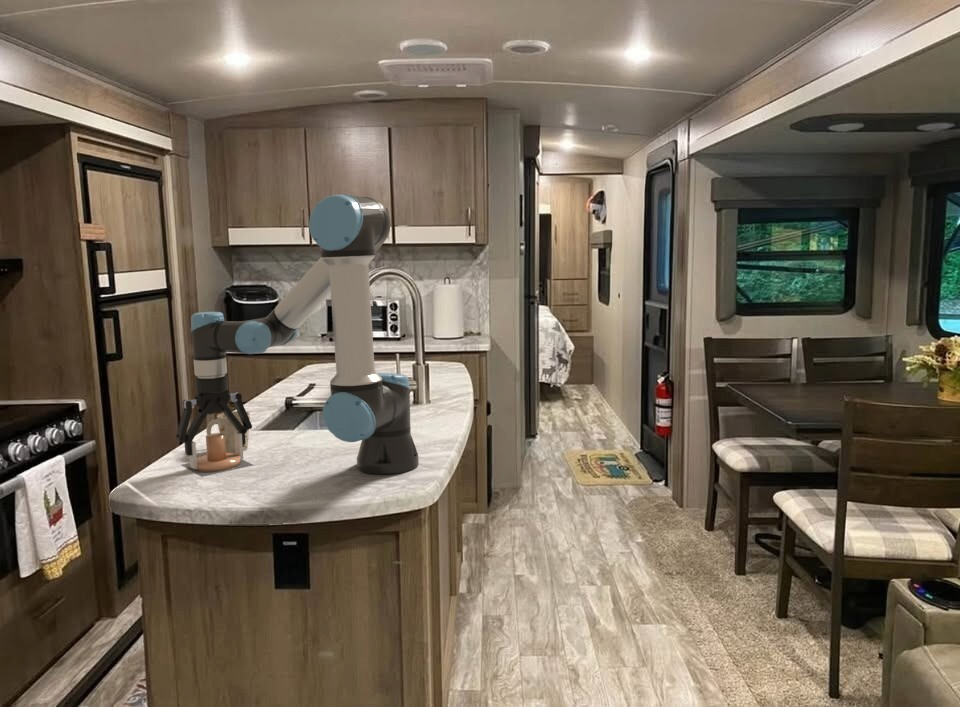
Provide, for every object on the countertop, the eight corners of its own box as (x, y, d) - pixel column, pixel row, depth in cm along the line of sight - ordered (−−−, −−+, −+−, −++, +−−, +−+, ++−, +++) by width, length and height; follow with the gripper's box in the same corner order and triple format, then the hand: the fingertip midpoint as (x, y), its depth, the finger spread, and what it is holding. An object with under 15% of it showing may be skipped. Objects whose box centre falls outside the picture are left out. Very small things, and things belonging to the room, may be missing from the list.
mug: (242, 456, 193) (239, 418, 192) (198, 454, 196) (195, 417, 194) (257, 447, 201) (255, 411, 200) (215, 445, 204) (213, 410, 202)
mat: (253, 466, 184) (253, 464, 184) (201, 478, 175) (201, 476, 175) (231, 456, 194) (231, 454, 194) (181, 466, 185) (181, 464, 185)
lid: (248, 464, 184) (246, 435, 183) (204, 474, 177) (201, 443, 176) (229, 455, 192) (227, 427, 191) (186, 464, 185) (184, 435, 184)
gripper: (249, 367, 192) (254, 450, 195) (156, 380, 176) (163, 469, 179) (263, 371, 186) (268, 456, 189) (167, 384, 171) (174, 476, 174)
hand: (217, 462), depth 184 cm, fingers closed on lid, 11 cm apart
